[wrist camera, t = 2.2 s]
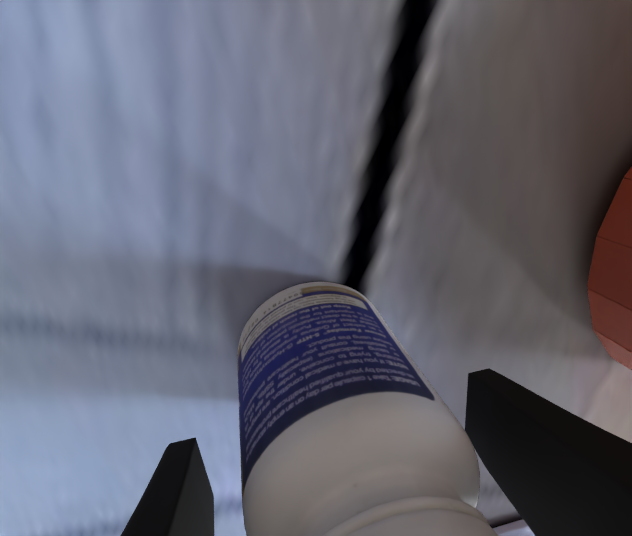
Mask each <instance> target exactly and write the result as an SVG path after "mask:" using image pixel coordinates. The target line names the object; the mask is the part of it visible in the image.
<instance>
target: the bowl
mask: <svg viewBox="0 0 632 536" xmlns="http://www.w3.org/2000/svg"><path fill="white" fill-rule="evenodd" d="M587 287H588V288H587V291H588V298H589V305H590V313H591V320H592V327H593V330H594V332H595V333H596V335H597V336H598V338H599V339H600V341H601V342H602V344H603V345H604V347H605V348H606V350H607V352H608V353H609V355H610V356H611V357H612V358H613V359H615V360H616V361H618V362H620V363H621V364H623V365H624V366H626V367H627V368H629V369H630V370H632V167H631V168H630V169H629V171H628V172H627V173H626V175H625V176H624V179H622V181H621V183H620V186H619V188H618V190H617V192H616V194H615V196H614V199H613V201H612V203H611V205H610V207H609V210H608V212H607V214H606V216H605V218H604V220H603V223H602V225H601V227H600V229H599V231H598V233H597V237H596V241H595V246H594V251H593V257H592V262H591V267H590V273H589V278H588V283H587Z"/></svg>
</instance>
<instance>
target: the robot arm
mask: <svg viewBox="0 0 632 536" xmlns="http://www.w3.org/2000/svg"><path fill="white" fill-rule="evenodd" d="M465 431H466V433H467V435H468V437H469V439H470V441H471V442H472V444H473V446H474V448H475V450H476V452H477V453H478V455H479V457H480V458H481V460H482V462H483V464H484V465H485V467H486V468H487V470H488V471H489V473H490V474H491V475H492V477H493V478H494V480H495V481H496V482H497V484H498V485H499V487H500V488H501V489H502V491H503V492H504V494H505V495H506V496H507V498H508V499H509V500H510V502H511V503H512V505H513V506H514V507H515V509H516V510H517V511H518V513H519V514H520V516H521V517H522V518H523V519H522V520H518V521H515V522H512V523H508V524H505V525H502V526H498V527H495V528H492V529H493V530H494V531H495V532H496V533H497V534H498V536H632V443H630V442H628V441H626V440H624V439H622V438H620V437H618V436H616V435H613V434H611V433H609V432H607V431H605V430H603V429H601V428H599V427H597V426H595V425H593V424H591V423H589V422H587V421H585V420H583V419H582V418H580V417H578V416H576V415H574V414H572V413H570V412H568V411H566V410H565V409H563V408H561V407H559V406H557V405H555V404H553V403H552V402H550V401H548V400H546V399H544V398H543V397H541V396H539V395H537V394H535V393H533V392H532V391H530V390H528V389H526V388H524V387H523V386H521V385H519V384H517V383H515V382H514V381H512V380H510V379H508V378H506V377H505V376H503V375H501V374H499V373H497V372H495V371H493V370H491V369H485V370H481V371H476V372H472V373H468V388H467V405H466V421H465ZM121 536H214V496H213V492H212V489H211V486H210V482H209V479H208V476H207V473H206V470H205V466H204V463H203V460H202V457H201V453H200V450H199V447H198V444H197V441H196V438H191V439H187V440H183V441H179V442H174V443H170V444H169V445H168V447H167V448H166V450H165V452H164V454H163V456H162V458H161V460H160V462H159V464H158V466H157V468H156V470H155V472H154V474H153V476H152V478H151V480H150V482H149V484H148V486H147V488H146V490H145V492H144V494H143V496H142V498H141V500H140V502H139V503H138V505H137V507H136V509H135V511H134V513H133V514H132V516H131V518H130V520H129V522H128V523H127V525H126V527H125V529H124V531H123V533H122V534H121Z"/></svg>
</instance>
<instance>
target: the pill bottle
mask: <svg viewBox="0 0 632 536" xmlns="http://www.w3.org/2000/svg"><path fill="white" fill-rule="evenodd" d="M237 359H238V390H239V427H240V447H241V481H242V505H243V515H244V525H245V530H246V534H247V536H498V534H497V533H496V532H495V531H494V530H493V529H492V528H491V527H490V525H489V523H488V521H487V520H486V518H485V517H484V516H483V514H482V513H481V512H479V511H478V510H477V509H476V505H477V501H478V497H479V488H480V471H479V465H478V460H477V456H476V453H475V450H474V448H473V445H472V443H471V441H470V439H469V437H468V435H467V433H466V432H465V430H464V429H463V427H462V426H461V425H460V423H459V422H458V420H457V419H456V418H455V416H454V415H453V414H452V412H451V411H450V410H449V408H448V407H447V406H446V404H445V403H444V402H443V400H442V399H441V398H440V396H439V395H438V394H437V392H436V391H435V390H434V388H433V387H432V386H431V384H430V383H429V381H428V380H427V379H426V377H425V376H424V375H423V373H422V372H421V371H420V369H419V368H418V367H417V365H416V364H415V363H414V361H413V360H412V359H411V357H410V356H409V355H408V353H407V352H406V350H405V349H404V348H403V346H402V345H401V344H400V342H399V341H398V339H397V338H396V337H395V335H394V334H393V332H392V331H391V330H390V328H389V327H388V325H387V324H386V322H385V321H384V319H383V318H382V317H381V315H380V314H379V312H378V311H377V309H376V308H375V307H374V305H373V304H372V303H371V302H370V301H369V300H368V299H367V298H366V297H365V296H364V295H362V294H361V293H359V292H358V291H356V290H354V289H352V288H350V287H347V286H344V285H341V284H336V283H331V282H310V283H303V284H299V285H296V286H292V287H290V288H287V289H285V290H283V291H281V292H279V293H277V294H275V295H274V296H272V297H271V298H269V299H268V300H267V301H265V302H264V303H263V304H262V305H261V306H260V307H259V308H258V309H257V310H256V311H255V312H254V313H253V315H252V316H251V317H250V319H249V320H248V322H247V323H246V325H245V327H244V329H243V332H242V334H241V337H240V341H239V345H238V354H237Z"/></svg>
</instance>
